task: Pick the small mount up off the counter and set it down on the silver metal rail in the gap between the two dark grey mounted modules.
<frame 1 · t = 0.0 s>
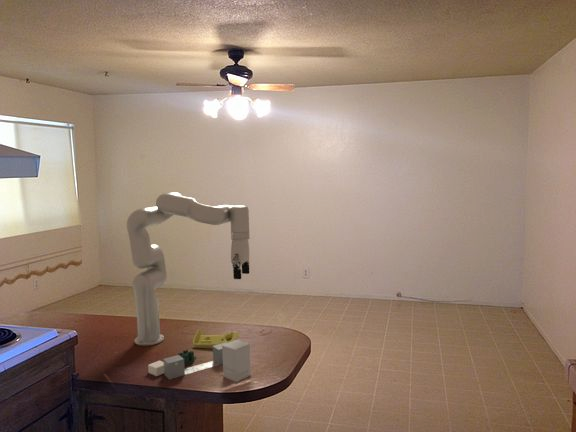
hand: (241, 276, 197), 31 cm above the worktop, tool pointing down, fingers open, 9 cm apart
plastic component: (217, 347, 203), on the worktop
rail: (199, 369, 180), on the worktop
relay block: (158, 374, 177), on the worktop
module a: (174, 374, 174), resting on rail
supplement box: (237, 378, 173), on the worktop
mount: (186, 365, 186), on the worktop
module b: (222, 360, 186), resting on rail
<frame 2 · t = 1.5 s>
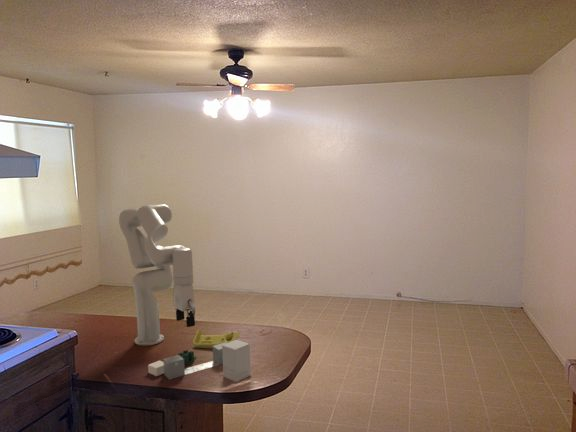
hand: (185, 323, 184), 17 cm above the worktop, tool pointing down, fingers open, 9 cm apart
nothing on the worktop moved.
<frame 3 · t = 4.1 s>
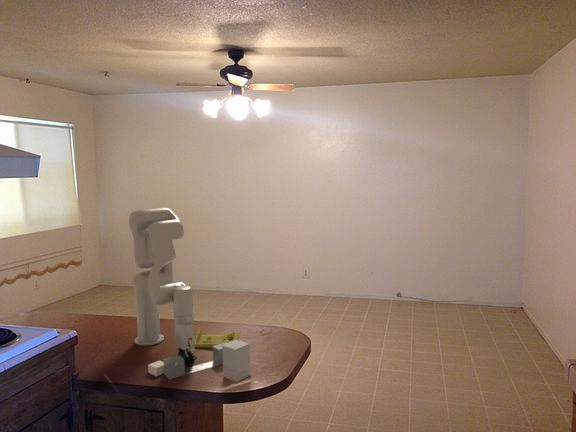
hand: (186, 362, 186), 1 cm above the worktop, tool pointing down, fingers closed on mount, 5 cm apart
mount: (186, 364, 186), on the worktop, touching gripper
everything else where it was.
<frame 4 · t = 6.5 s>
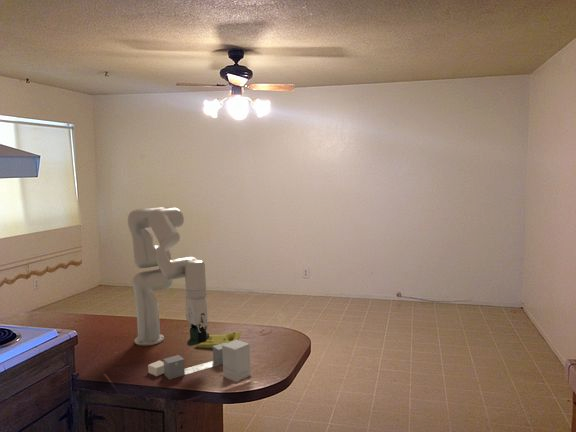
hand: (198, 339, 179), 12 cm above the worktop, tool pointing down, fingers closed on mount, 5 cm apart
mount: (198, 341, 179), point 11 cm above the worktop, touching gripper
everything else where it was.
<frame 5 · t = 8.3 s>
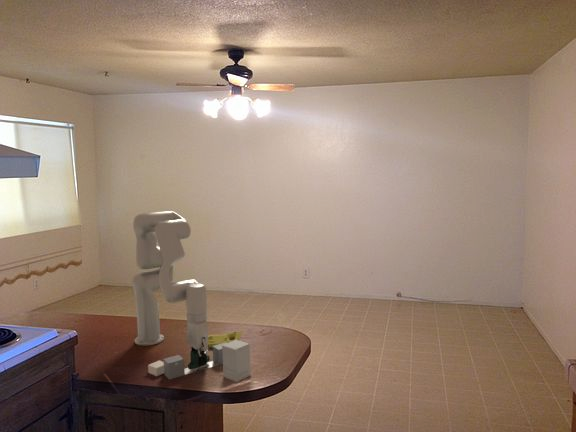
hand: (198, 362, 180), 3 cm above the worktop, tool pointing down, fingers closed on mount, 5 cm apart
mount: (199, 364, 180), point 2 cm above the worktop, touching gripper
when the fingers open (3 cm above the worktop, at t = 9.0 s): mount drops 1 cm, resting on rail.
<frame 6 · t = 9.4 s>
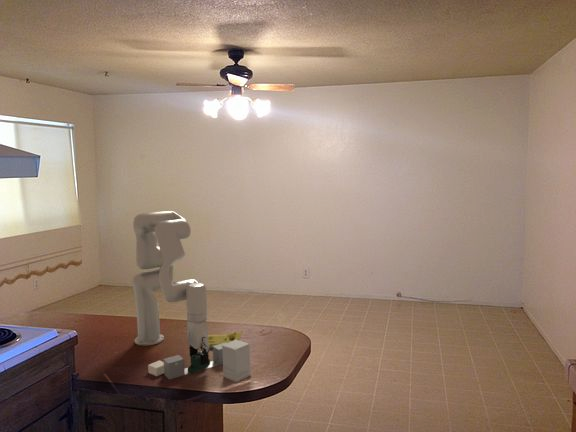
hand: (199, 360, 180), 4 cm above the worktop, tool pointing down, fingers open, 9 cm apart
mount: (199, 367, 180), point 1 cm above the worktop, touching rail
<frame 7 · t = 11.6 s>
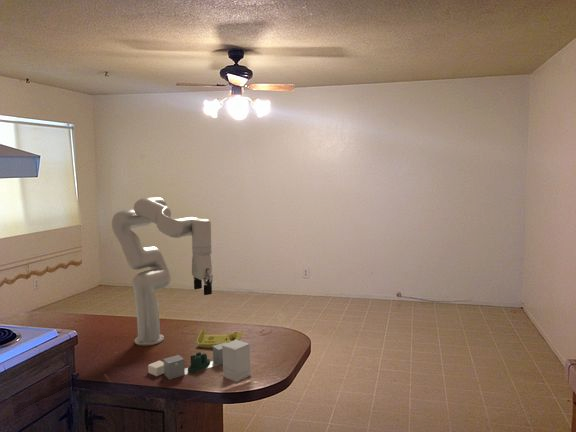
hand: (202, 291, 191), 27 cm above the worktop, tool pointing down, fingers open, 9 cm apart
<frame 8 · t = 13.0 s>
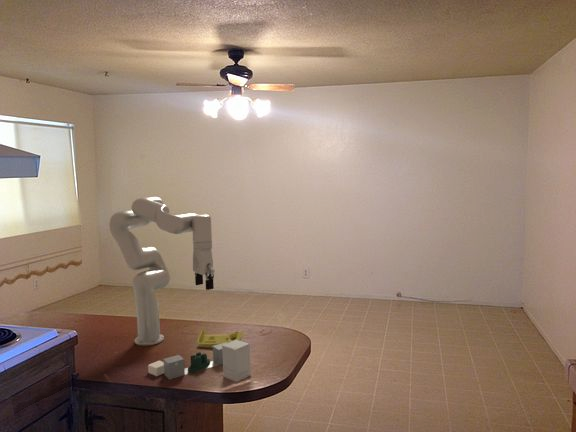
hand: (204, 286, 192), 28 cm above the worktop, tool pointing down, fingers open, 9 cm apart
at the end: mount inside the target area (0.2 cm from its centre), point 0.6 cm above the worktop; the gripper is holding nothing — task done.
